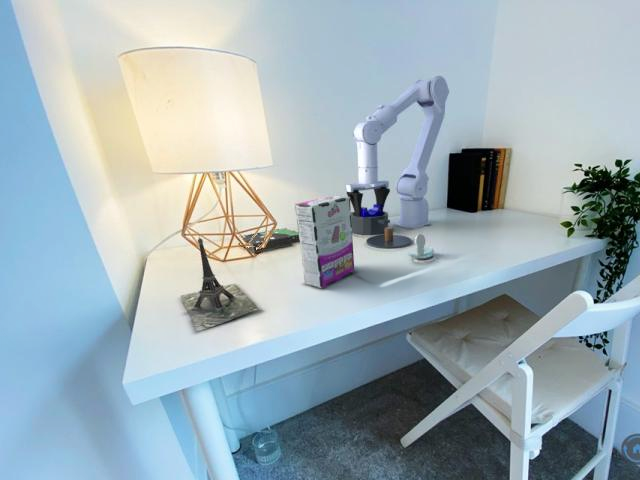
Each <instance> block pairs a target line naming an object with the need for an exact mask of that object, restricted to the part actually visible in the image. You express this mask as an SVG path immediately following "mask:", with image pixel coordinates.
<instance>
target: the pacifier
mask: <svg viewBox="0 0 640 480" xmlns="http://www.w3.org/2000/svg"><path fill="white" fill-rule="evenodd" d="M414 243H415V244H414V245H416V253H409V252H406V255H408V256H409V257H412V258H413V262H415V263H420V264H424V263H431V262H434V261H436V260H437V258H438V257H437V256H436V255H434V254H435V250H434V248H433V247H432V246H425V245H426V237H425V235H424V234H422V233H418V234H417V235H416V236H415V238H414ZM428 258H429V259H428Z"/></svg>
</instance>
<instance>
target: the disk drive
mask: <svg viewBox="0 0 640 480" xmlns="http://www.w3.org/2000/svg"><path fill="white" fill-rule="evenodd" d="M274 230H275V231H274V232H273V234H272V236H271V238H270V239H269V241H268V243H267V245H266V247H265V248H261V249H257V250H256V247H259V246H260V245H261V244H262V243H263V242H264V238H265V234H266V231H260V232H256V233H257V235H256V236H255V237H254V238H253V240H252V241H251V242H250V244H251V245H253V246H255V247H249V248H248V247H247V249H248V250H247V249H246V248H244V249H246V250H247V251H249V252H251V253H260V252H265V251H270V250H271V251H272V250H275V249H279V248H282V247H287V246H293V244H295V243H300V240H299V232H298V231H296V230H291V229H288V228H287V227H285V228H277V229H276V228H275V229H274ZM254 234H255V233H250V234H243V235H240V236H241V237H242V238H243V240H244V241H245V242H246V243H249V241H250V240H251V238H252V236H253V235H254ZM237 243H238V242H237ZM237 245H238V246H240V243H238V244H237Z"/></svg>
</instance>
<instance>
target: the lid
mask: <svg viewBox="0 0 640 480" xmlns="http://www.w3.org/2000/svg"><path fill="white" fill-rule="evenodd" d="M365 240H366V241H365V242H366V244H367V245H368V246H370V247H371V248H376V249H385V250H386V249H387V250H388V249H391V250H392V249H400V248H405V247H407V246H410V245H411V244H412V243H413V242H412V238H410V237H409V236H407V235H402V234H401V235H400V234H394V227H393V226H388V227H385V233H384V234H380V235H372V236H370V237H368V238H367V239H365Z"/></svg>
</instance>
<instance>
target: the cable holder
mask: <svg viewBox="0 0 640 480" xmlns="http://www.w3.org/2000/svg"><path fill="white" fill-rule="evenodd" d="M377 216H382V212H381V204H376V203H374V204H373V205H372V207H371V208H368V207H366V206H361V216H359V217H377Z"/></svg>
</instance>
